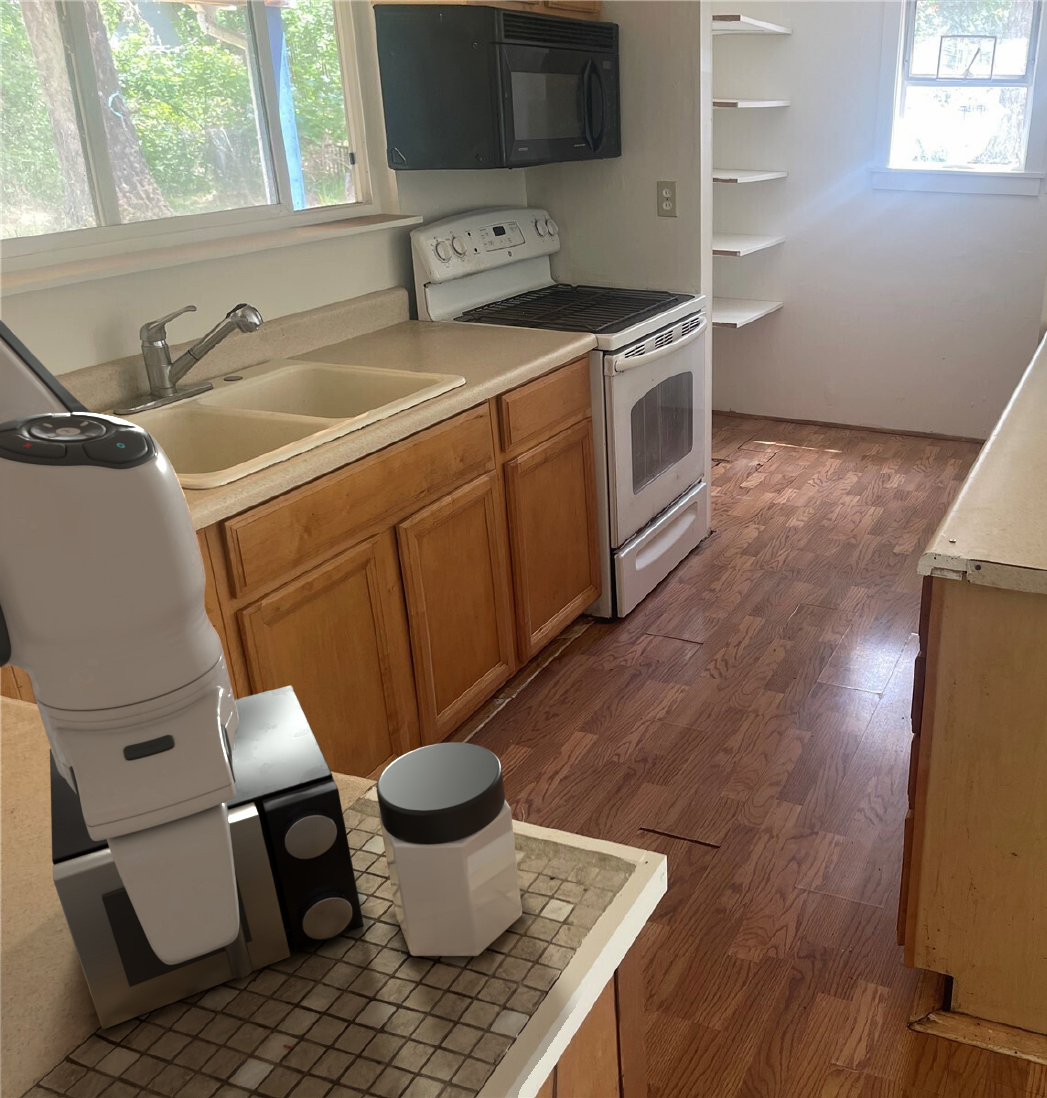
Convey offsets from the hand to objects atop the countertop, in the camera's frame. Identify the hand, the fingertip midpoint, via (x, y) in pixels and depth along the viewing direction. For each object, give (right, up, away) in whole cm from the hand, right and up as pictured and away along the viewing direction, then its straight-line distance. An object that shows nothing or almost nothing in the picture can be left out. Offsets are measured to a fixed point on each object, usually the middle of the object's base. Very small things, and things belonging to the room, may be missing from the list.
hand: (198, 916), depth 61 cm
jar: (+12, -5, +12) cm, 18 cm away
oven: (-5, -4, +13) cm, 15 cm away
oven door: (-2, -7, +5) cm, 9 cm away
